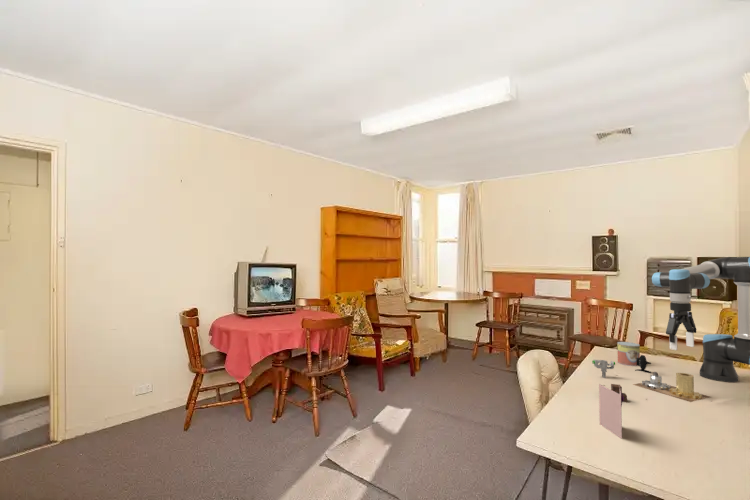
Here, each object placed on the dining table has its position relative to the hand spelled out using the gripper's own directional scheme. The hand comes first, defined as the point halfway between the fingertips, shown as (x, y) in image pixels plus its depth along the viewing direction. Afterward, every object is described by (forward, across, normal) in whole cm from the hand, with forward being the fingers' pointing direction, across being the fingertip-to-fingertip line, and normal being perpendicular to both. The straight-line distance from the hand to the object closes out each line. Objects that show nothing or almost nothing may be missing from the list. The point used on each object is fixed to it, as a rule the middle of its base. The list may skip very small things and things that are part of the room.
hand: (682, 348), depth 169 cm
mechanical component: (+21, -14, +28) cm, 38 cm away
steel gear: (+20, -4, +9) cm, 22 cm away
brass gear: (+20, -5, -3) cm, 21 cm away
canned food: (+22, +31, +44) cm, 58 cm away
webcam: (+22, +18, +28) cm, 40 cm away
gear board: (+21, -5, +3) cm, 22 cm away
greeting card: (+20, -68, -10) cm, 72 cm away
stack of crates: (+22, -35, +9) cm, 42 cm away
